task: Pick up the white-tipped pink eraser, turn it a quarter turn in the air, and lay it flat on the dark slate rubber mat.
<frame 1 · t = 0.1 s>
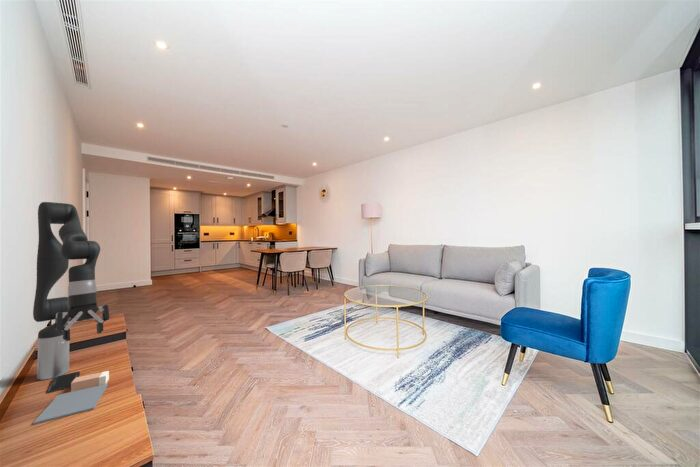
hand: (84, 336, 98), 22 cm above the table, tool pointing down, fingers open, 8 cm apart
phone: (64, 383, 108), on the table
mat: (75, 402, 94), on the table
white-tipped pink eraser: (90, 385, 105), on the table
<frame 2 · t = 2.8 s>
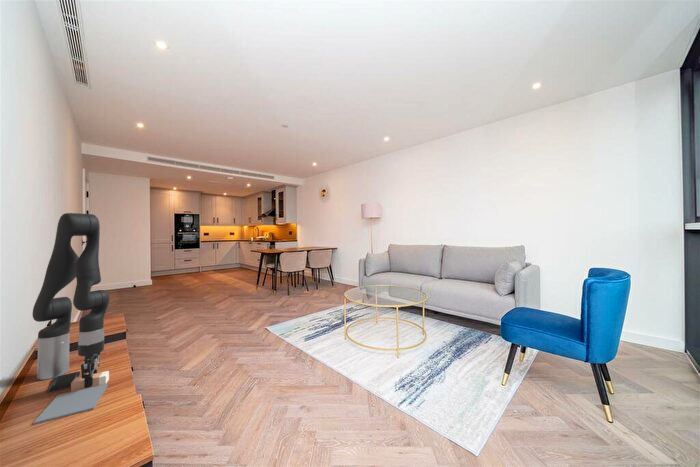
hand: (90, 383, 106), 1 cm above the table, tool pointing down, fingers closed on white-tipped pink eraser, 5 cm apart
white-tipped pink eraser: (90, 385, 105), on the table, touching gripper
everything else where it was.
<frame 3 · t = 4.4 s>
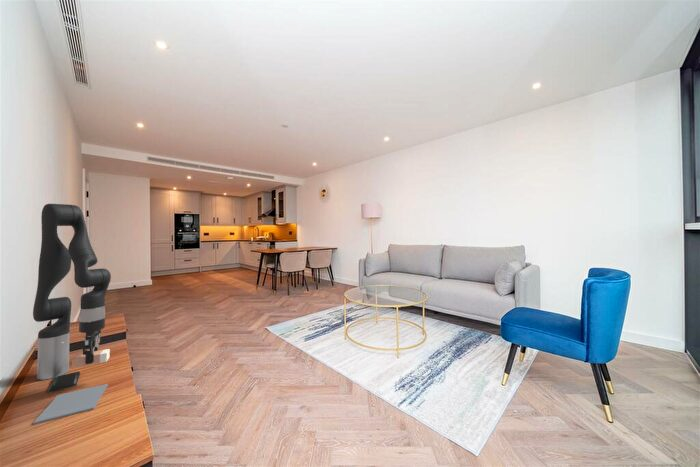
hand: (91, 360, 106), 10 cm above the table, tool pointing down, fingers closed on white-tipped pink eraser, 5 cm apart
white-tipped pink eraser: (91, 362, 106), point 9 cm above the table, touching gripper
everything else where it was.
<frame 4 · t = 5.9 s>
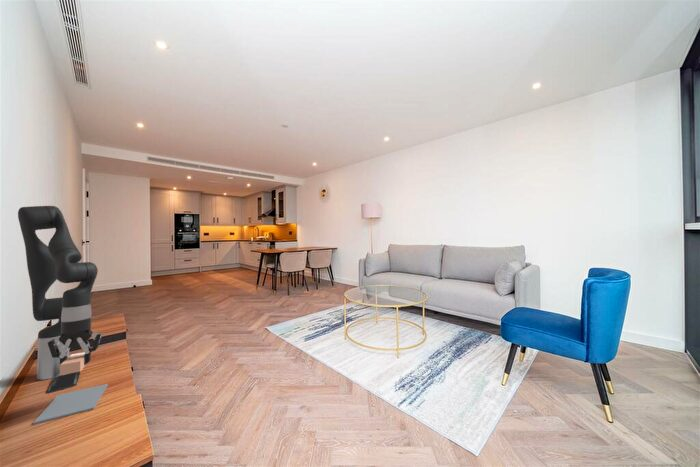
hand: (75, 365, 94), 13 cm above the table, tool pointing down, fingers closed on white-tipped pink eraser, 5 cm apart
white-tipped pink eraser: (75, 367, 94), point 12 cm above the table, touching gripper
everything else where it was.
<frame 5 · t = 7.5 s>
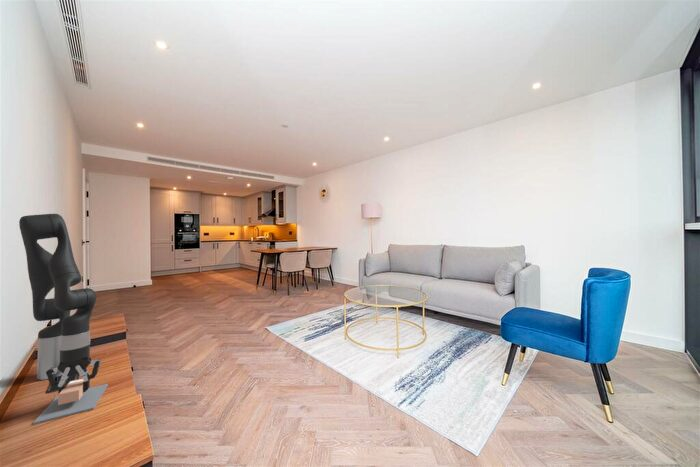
hand: (74, 393, 94), 3 cm above the table, tool pointing down, fingers closed on white-tipped pink eraser, 5 cm apart
white-tipped pink eraser: (74, 395, 94), point 3 cm above the table, touching gripper
everything else where it was.
when the fingers open (2 cm above the table, at t = 8.7 s): white-tipped pink eraser stays where it is, resting on mat.
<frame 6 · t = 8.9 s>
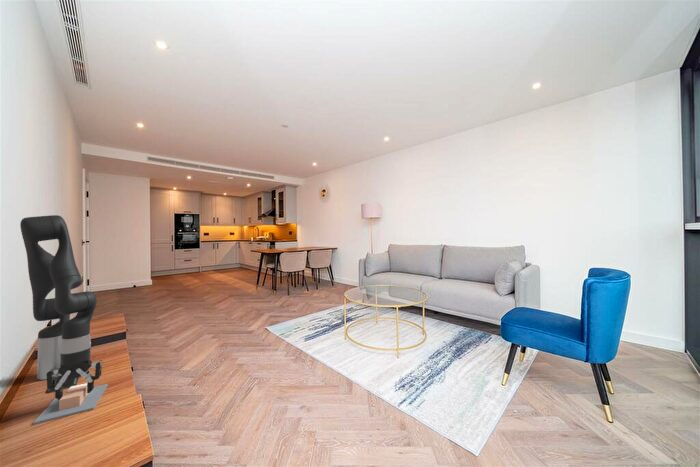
hand: (75, 395, 94), 3 cm above the table, tool pointing down, fingers open, 7 cm apart
white-tipped pink eraser: (75, 400, 94), point 1 cm above the table, touching mat
everything else where it was.
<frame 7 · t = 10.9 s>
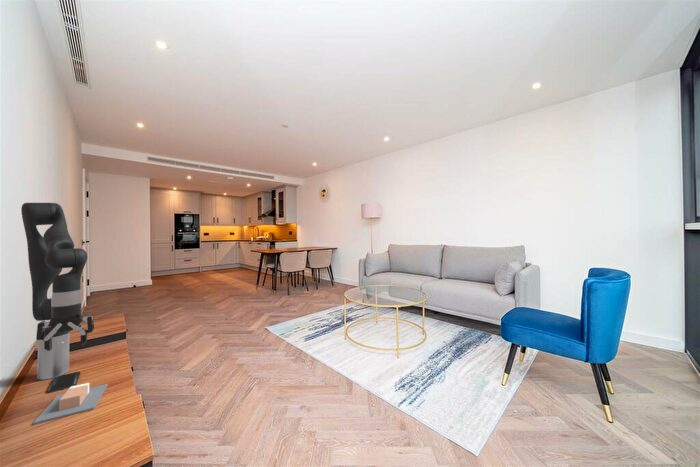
hand: (66, 347, 96), 19 cm above the table, tool pointing down, fingers open, 8 cm apart
nothing on the table moved.
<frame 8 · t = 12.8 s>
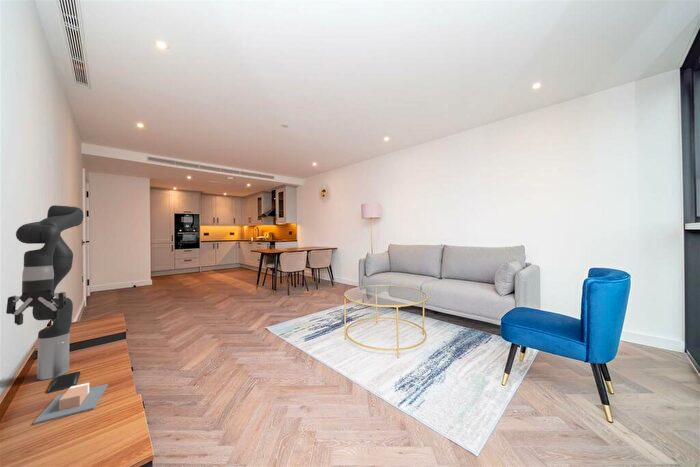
hand: (37, 322, 97), 28 cm above the table, tool pointing down, fingers open, 8 cm apart
nothing on the table moved.
at the end: white-tipped pink eraser inside the target area on the mat (0.0 cm from its centre), point 0.6 cm above the mat's base; white-tipped pink eraser tilted 0°; the gripper is holding nothing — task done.
